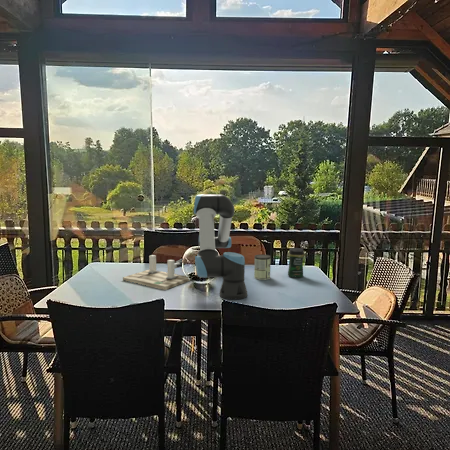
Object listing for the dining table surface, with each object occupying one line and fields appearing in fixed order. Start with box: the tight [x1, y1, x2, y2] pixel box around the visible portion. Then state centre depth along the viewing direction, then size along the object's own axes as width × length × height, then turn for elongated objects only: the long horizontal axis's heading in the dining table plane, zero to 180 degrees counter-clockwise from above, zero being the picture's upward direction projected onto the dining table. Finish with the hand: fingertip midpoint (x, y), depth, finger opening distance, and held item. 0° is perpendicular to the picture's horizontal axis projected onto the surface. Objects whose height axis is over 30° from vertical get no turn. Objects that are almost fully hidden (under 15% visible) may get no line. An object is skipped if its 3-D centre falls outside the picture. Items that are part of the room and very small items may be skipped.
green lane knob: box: [166, 259, 176, 279], centre depth 242 cm, size 5×4×11 cm
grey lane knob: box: [148, 254, 159, 274], centre depth 254 cm, size 5×4×11 cm
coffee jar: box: [287, 247, 305, 279], centre depth 257 cm, size 10×8×19 cm
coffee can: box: [253, 253, 272, 281], centre depth 253 cm, size 10×10×14 cm
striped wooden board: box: [122, 269, 190, 291], centre depth 246 cm, size 24×34×2 cm
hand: (172, 266), depth 244 cm, fingers closed
